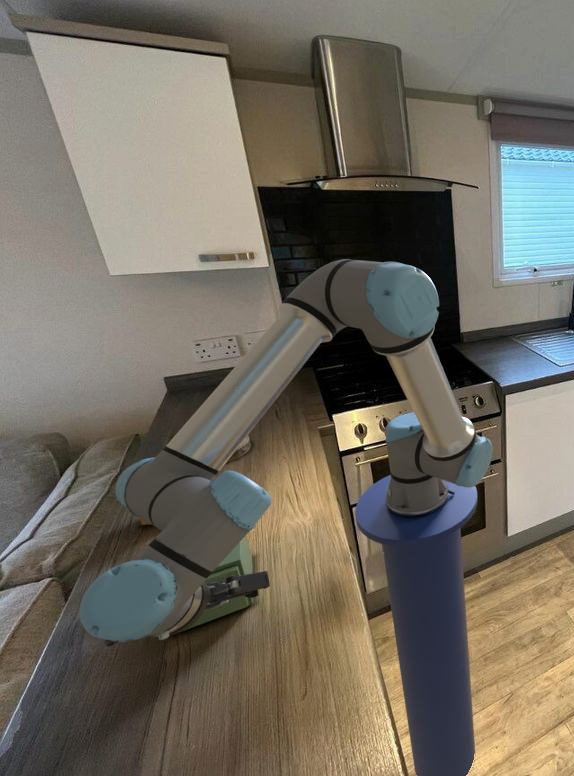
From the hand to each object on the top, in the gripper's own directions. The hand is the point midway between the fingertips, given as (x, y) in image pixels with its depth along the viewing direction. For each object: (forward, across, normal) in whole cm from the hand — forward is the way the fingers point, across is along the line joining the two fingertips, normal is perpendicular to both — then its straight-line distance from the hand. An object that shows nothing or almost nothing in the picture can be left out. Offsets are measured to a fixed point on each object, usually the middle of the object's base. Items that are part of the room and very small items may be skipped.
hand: (205, 606), depth 74 cm
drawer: (+8, 0, +1) cm, 8 cm away
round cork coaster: (+56, -2, +47) cm, 73 cm away
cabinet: (+12, 0, +3) cm, 12 cm away
